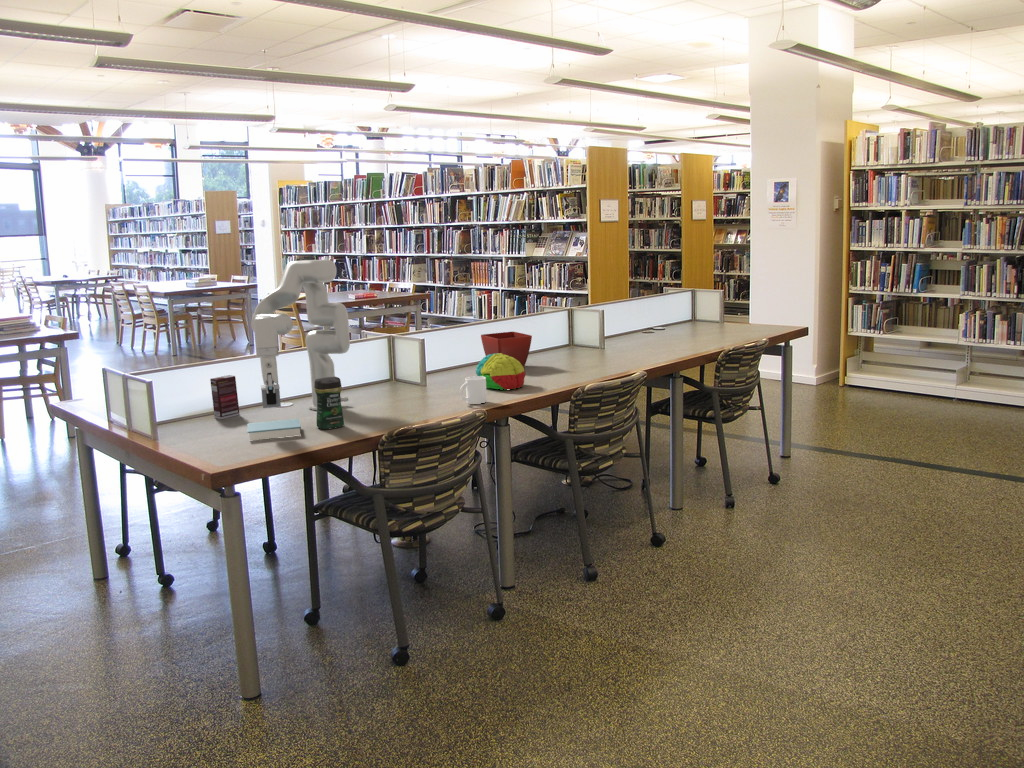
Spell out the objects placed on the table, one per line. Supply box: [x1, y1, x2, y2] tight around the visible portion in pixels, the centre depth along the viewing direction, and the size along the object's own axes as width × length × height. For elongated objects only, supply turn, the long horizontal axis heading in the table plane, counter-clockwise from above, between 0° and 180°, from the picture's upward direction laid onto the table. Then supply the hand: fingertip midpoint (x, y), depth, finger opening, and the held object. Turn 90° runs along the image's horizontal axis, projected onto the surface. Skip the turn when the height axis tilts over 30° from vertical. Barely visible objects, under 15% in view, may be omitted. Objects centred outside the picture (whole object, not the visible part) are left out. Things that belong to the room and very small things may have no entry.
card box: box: [260, 383, 282, 409], centre depth 296 cm, size 6×6×7 cm
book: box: [246, 418, 302, 440], centre depth 299 cm, size 18×13×4 cm
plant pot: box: [480, 331, 533, 368], centre depth 414 cm, size 19×19×17 cm
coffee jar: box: [314, 376, 345, 430], centre depth 306 cm, size 10×8×19 cm
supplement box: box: [209, 374, 240, 420], centre depth 328 cm, size 9×5×16 cm, turn 141°
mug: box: [459, 375, 488, 405], centre depth 338 cm, size 12×8×10 cm
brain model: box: [475, 353, 526, 391], centre depth 370 cm, size 24×19×15 cm
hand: (271, 402), depth 296 cm, fingers closed on card box, 5 cm apart
